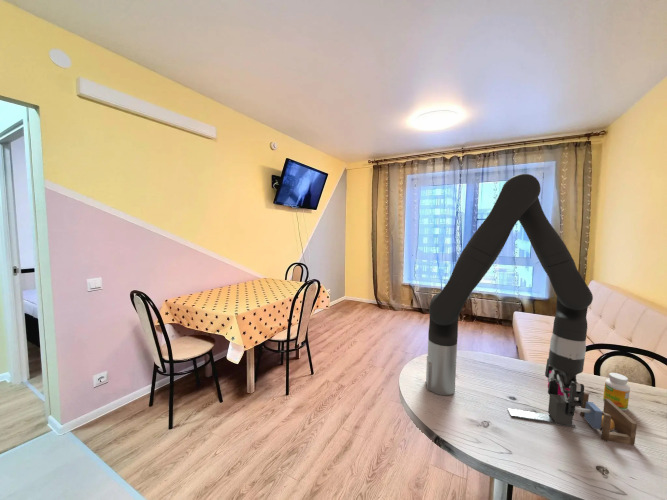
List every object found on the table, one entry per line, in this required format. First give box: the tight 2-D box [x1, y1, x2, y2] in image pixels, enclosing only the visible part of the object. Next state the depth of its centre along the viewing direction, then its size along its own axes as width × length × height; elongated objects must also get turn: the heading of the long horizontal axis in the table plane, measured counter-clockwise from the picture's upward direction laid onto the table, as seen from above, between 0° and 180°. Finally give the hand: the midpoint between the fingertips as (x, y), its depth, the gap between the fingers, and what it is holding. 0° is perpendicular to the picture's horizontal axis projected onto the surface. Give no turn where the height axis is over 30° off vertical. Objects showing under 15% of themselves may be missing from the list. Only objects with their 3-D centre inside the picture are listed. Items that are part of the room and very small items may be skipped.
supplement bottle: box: [602, 372, 631, 411], centre depth 85 cm, size 5×5×10 cm
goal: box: [579, 391, 638, 446], centre depth 75 cm, size 7×10×7 cm, turn 165°
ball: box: [601, 416, 615, 431], centre depth 76 cm, size 4×4×4 cm
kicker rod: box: [547, 394, 603, 430], centre depth 77 cm, size 11×4×6 cm, turn 75°
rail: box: [507, 408, 577, 428], centre depth 80 cm, size 16×3×1 cm, turn 75°
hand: (560, 404), depth 78 cm, fingers open, 8 cm apart
